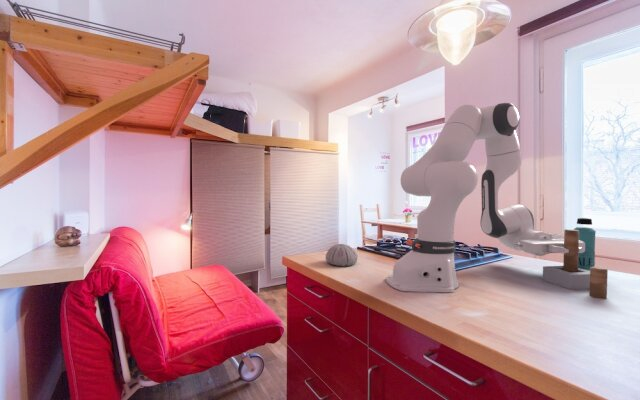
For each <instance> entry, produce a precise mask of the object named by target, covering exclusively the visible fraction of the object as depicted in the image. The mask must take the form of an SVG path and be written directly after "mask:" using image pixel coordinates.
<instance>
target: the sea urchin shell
mask: <svg viewBox="0 0 640 400" xmlns="http://www.w3.org/2000/svg"><path fill="white" fill-rule="evenodd" d="M324 258H325V261H326V262H327V263H328V264H331V265H333V266H336V267H349V266H353V265H356V263H357V262H358V258H359V257H358V253H357V252H356V250H354V248H352V247H351V245H348V244H345V243H339V244H334V245H332V246H331V247H330V248H329V249H328V250H327V251H326V255H325V257H324Z"/></svg>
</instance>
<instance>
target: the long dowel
mask: <svg viewBox="0 0 640 400" xmlns="http://www.w3.org/2000/svg"><path fill="white" fill-rule="evenodd" d="M563 233H564V234H563V235H564V236H563V237H564V247H565V248H568V249H569V253H567V254H563V265H562V266H563V270H564V271H568V272H578V253H579V230H573V229H564V231H563Z"/></svg>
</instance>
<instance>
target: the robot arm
mask: <svg viewBox="0 0 640 400" xmlns="http://www.w3.org/2000/svg"><path fill="white" fill-rule="evenodd" d="M520 117H521V116H520V112H519V109H518V107H517V106H515V105H514V104H513V103H511V102H502V103H497V104H494V105H489V106H485V107H480V108H478V107H477V106H475V105H473V104H463V105H460V106H459V107H457V108H456V109H455V110H454V111H453V113H451V115H450V116H449V118H447V121H446V122H445V124H444V125H443V127H442V129H441V130H440V132H439V134H438V136H437V137H436V140H435V142H434V143H433V144H432V146H431V147H430V148H429V149H428V150H427V151H426V152H425V154H423V155H422V156H421V157H420V158H419V159H418V160H417V161H415V162H414V163H413V164H411V165H409V166H408V167H406V168H405V169H404V170H403V171H402V172H401V175H400V186H401V188H402V190H403V191H404V192H405V193H406V194H409V195H412V196H416V197H430V201H429V203H428V206H427V207H426V208H424V209H422V211H420V212H419V213H418V214H417V221H416V222H417V223H416V229H417V230H416V235H417V236H416V238H415V239H414V240H412V239H410V238H409V239H407V240H406V241H405V243H406V245H407V246H410V247H411V250H410V251H408V252H407V253H405V254H404V255H403V256H402V257H400V258H398V259H397V260H396V261H395V262H394V265H393V269H392V274H388V275H386V277H385V282H386V283H387V284H388V285H389V286H390V287H392V288H394V289H395V290H398V291H402V292H414V293H415V292H417V293H418V292H419V293H453V292H454V291H455V289H457V288H458V287H459V286H460V285H459V280H458V277H457V272H456V264H455V255H456V241H455V239H454V238H455V236H454V235H455V223H456V221H455V220H456V215H457V212H458V210H459V207H460V205H461V204H462V202H463V201H464V199H466V198H467V196H469V195H471V194H472V193H473V192H474V190H476V188H477V185H478V180H479V176H478V175H479V174H478V171H477V170H476V168H475V167H474V165H473V164H471V163H470V162H467V161H466V162H465V160H466V159H467V157H468V155H469V154H470V152H471V150H472V148H473V145H474V143H475V141H478V140H484V145H485V147H484V148H485V154H486V168H485V171H484V172H483V173H482V174H481V183H480V184H481V185H480V186H481V214H480V215H481V216H480V227H481V230H482V232H483V233H484V234H485V235H487V236H489V237H492V238H495V239H498V242H499V243H500V244H502V245H503V246H504V247H506V248H509V249H510V250H514V251H518V252H524V253H525V254H530V255H534V256H537V257H543V256H546V255H549V254H563V255H564V254H567V253H569V249H568V248H565V247H564V236H562V234H560V233H550V232H545V231H541V230H540V231H539V230H534V228H535V219H534V215H533V212H532V211H531V210H530V209H529V208H528V207H526V206H525V205H523V204H520V203H516V204H513V205H508V206H507V207H504V208H501V209H499V189H500V187H501V186H502V184H503V183H504V182H505V181H506V180H507V179H509V178H510V177H512V176H513V175H514V174H516V172H518V170H519V169H520V168H521V165H522V161H523V158H522V152H521V145H520V141H519V138H518V137H519V136H517V135H518V134H517V132H516V130H517V128H518V127H519V124H520ZM583 252H585V243H584V242H583V241H580V240H579V253H583Z"/></svg>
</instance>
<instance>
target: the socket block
mask: <svg viewBox="0 0 640 400" xmlns="http://www.w3.org/2000/svg"><path fill="white" fill-rule="evenodd" d="M542 281H545V282H548V283H551V284H554V285H557V286H560V287H564V288H566V289H568V290H572V291H573V290H590V271H588V270H585V269H581V268H578V272H568V271H564V270H563V265H548V266H547V265H545V266H542Z"/></svg>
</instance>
